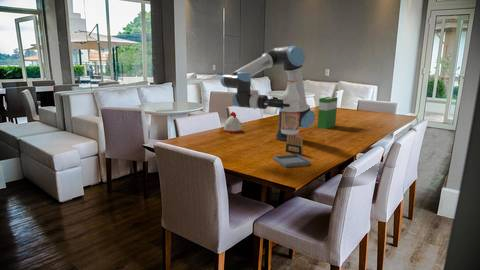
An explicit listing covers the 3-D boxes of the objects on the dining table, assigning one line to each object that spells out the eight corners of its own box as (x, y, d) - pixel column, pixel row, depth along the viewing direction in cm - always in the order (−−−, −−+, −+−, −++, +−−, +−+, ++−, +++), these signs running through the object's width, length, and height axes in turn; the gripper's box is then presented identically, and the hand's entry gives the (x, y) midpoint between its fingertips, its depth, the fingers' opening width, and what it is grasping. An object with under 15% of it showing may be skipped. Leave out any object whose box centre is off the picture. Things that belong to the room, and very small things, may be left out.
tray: (297, 157, 187) (297, 153, 187) (310, 164, 174) (310, 161, 173) (273, 159, 182) (273, 156, 182) (285, 167, 169) (285, 163, 169)
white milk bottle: (277, 132, 176) (279, 79, 170) (291, 130, 180) (293, 79, 174) (287, 135, 168) (289, 80, 162) (302, 133, 172) (305, 80, 166)
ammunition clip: (302, 154, 193) (303, 134, 191) (301, 154, 192) (302, 134, 189) (287, 150, 200) (288, 131, 197) (285, 151, 199) (286, 132, 196)
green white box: (327, 124, 282) (329, 96, 276) (335, 125, 277) (337, 97, 272) (317, 127, 269) (319, 98, 263) (325, 129, 264) (327, 99, 259)
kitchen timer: (229, 133, 244) (229, 114, 241) (220, 130, 255) (220, 111, 252) (245, 131, 251) (245, 112, 248) (235, 128, 263) (235, 110, 259)
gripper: (267, 106, 189) (305, 109, 179) (250, 111, 170) (292, 114, 160) (267, 93, 187) (305, 95, 177) (250, 96, 169) (292, 99, 158)
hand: (299, 104), depth 169 cm, fingers closed on white milk bottle, 9 cm apart
